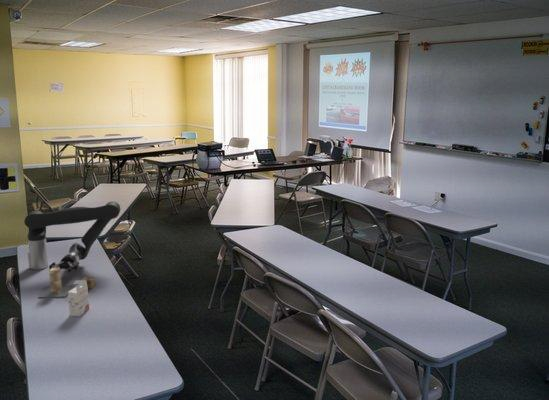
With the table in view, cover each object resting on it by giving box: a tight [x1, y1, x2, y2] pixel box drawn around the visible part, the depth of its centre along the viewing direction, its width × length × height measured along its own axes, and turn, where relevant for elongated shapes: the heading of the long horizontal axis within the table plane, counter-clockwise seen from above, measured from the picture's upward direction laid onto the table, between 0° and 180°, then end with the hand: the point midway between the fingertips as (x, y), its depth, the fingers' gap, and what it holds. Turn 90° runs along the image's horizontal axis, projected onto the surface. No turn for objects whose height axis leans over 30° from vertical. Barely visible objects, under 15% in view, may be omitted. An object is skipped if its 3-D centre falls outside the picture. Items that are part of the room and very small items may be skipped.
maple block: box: [48, 268, 62, 293], centre depth 242 cm, size 4×4×12 cm
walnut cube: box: [81, 276, 95, 290], centre depth 251 cm, size 5×5×5 cm
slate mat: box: [38, 285, 73, 299], centre depth 244 cm, size 13×13×1 cm
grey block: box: [72, 279, 86, 289], centre depth 243 cm, size 5×5×6 cm
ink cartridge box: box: [67, 281, 90, 317], centre depth 221 cm, size 9×5×15 cm, turn 168°
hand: (60, 271), depth 250 cm, fingers open, 8 cm apart
